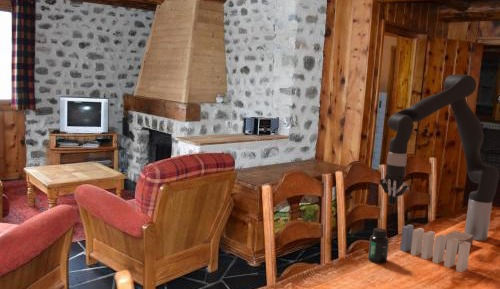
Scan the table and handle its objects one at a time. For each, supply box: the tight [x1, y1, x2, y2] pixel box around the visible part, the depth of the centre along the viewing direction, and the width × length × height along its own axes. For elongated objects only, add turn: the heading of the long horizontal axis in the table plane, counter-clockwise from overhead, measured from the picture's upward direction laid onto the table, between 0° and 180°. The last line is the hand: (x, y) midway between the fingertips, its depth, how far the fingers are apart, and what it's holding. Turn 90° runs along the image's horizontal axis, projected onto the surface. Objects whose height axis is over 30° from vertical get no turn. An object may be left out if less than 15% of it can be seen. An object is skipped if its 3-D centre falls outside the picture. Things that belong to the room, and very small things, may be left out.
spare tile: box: [399, 224, 415, 253], centre depth 182 cm, size 5×2×10 cm, turn 132°
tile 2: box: [410, 227, 425, 257], centre depth 179 cm, size 5×2×10 cm, turn 132°
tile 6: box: [455, 242, 471, 273], centre depth 165 cm, size 5×2×10 cm, turn 132°
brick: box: [444, 230, 474, 253], centre depth 190 cm, size 16×8×5 cm, turn 131°
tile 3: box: [420, 230, 436, 260], centre depth 175 cm, size 5×2×10 cm, turn 132°
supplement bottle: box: [368, 227, 390, 265], centre depth 170 cm, size 7×7×12 cm
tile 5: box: [443, 238, 458, 269], centre depth 169 cm, size 5×2×10 cm, turn 132°
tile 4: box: [432, 233, 446, 264], centre depth 172 cm, size 5×2×10 cm, turn 132°
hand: (392, 204), depth 186 cm, fingers closed
